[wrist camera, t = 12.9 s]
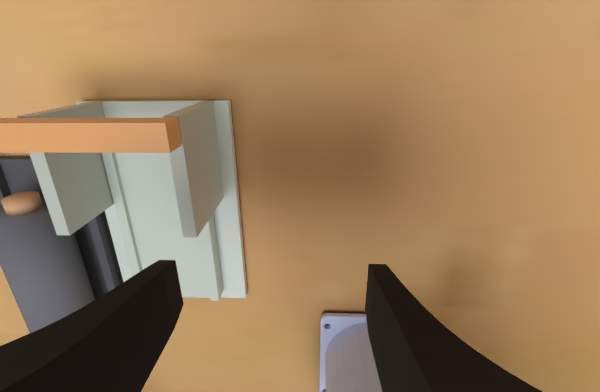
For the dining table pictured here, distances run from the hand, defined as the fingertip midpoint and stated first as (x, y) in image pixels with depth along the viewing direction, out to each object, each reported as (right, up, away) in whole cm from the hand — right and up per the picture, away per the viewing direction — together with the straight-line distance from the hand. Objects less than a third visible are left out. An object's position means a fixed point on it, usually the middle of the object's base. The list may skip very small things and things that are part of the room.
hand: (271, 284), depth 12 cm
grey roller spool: (-16, -2, +10) cm, 18 cm away
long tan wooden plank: (-9, +6, +2) cm, 11 cm away
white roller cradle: (-7, +3, +10) cm, 13 cm away
